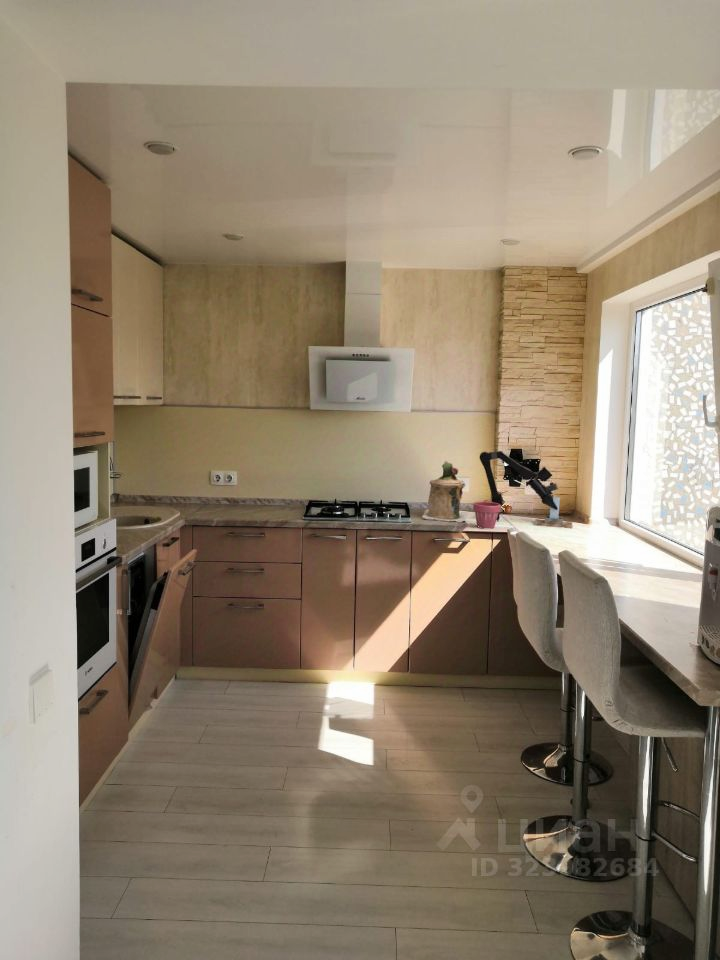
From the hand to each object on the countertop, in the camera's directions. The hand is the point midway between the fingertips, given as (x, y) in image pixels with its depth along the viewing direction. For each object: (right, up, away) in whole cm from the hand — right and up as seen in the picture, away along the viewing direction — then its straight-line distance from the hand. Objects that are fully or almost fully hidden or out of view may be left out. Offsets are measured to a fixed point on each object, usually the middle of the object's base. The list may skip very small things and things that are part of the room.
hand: (557, 508), depth 414 cm
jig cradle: (-2, -9, +1) cm, 9 cm away
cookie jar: (-61, -6, +8) cm, 62 cm away
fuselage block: (-2, -6, +1) cm, 7 cm away
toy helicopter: (-27, -4, +34) cm, 44 cm away
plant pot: (-42, -9, -16) cm, 46 cm away
